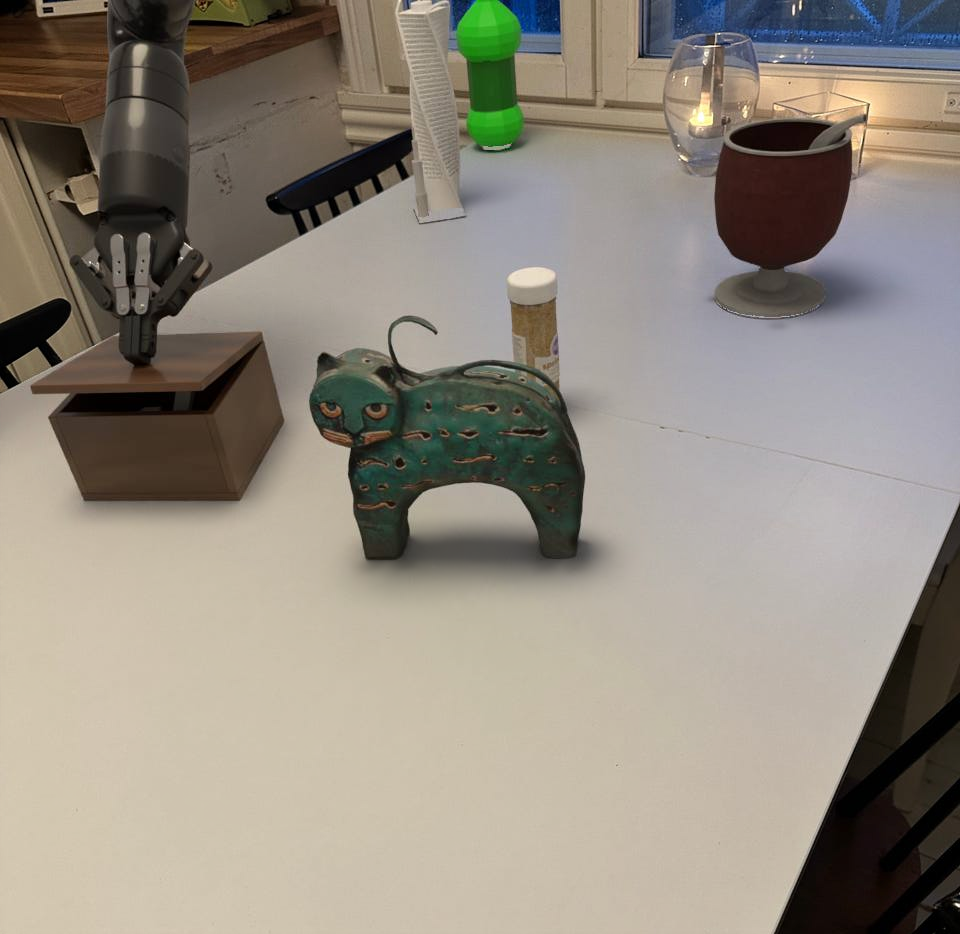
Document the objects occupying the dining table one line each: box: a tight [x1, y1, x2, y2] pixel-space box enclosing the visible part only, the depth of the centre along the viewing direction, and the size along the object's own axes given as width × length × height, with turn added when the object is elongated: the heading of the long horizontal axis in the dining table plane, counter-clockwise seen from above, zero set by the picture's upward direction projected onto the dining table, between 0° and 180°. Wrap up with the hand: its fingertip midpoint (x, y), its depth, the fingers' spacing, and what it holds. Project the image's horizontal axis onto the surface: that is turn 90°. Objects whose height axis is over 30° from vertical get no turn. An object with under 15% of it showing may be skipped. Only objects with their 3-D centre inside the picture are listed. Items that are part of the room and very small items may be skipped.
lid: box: [29, 331, 264, 395], centre depth 87 cm, size 15×16×1 cm
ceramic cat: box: [308, 315, 586, 560], centre depth 73 cm, size 20×6×20 cm, turn 82°
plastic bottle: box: [455, 0, 525, 152], centre depth 158 cm, size 10×10×25 cm
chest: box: [47, 339, 285, 501], centre depth 92 cm, size 15×16×9 cm
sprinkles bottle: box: [506, 266, 561, 402], centre depth 91 cm, size 5×5×13 cm
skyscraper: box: [394, 0, 467, 225], centre depth 134 cm, size 8×8×28 cm
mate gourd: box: [713, 113, 868, 320], centre depth 103 cm, size 16×14×20 cm
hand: (136, 361), depth 84 cm, fingers closed
